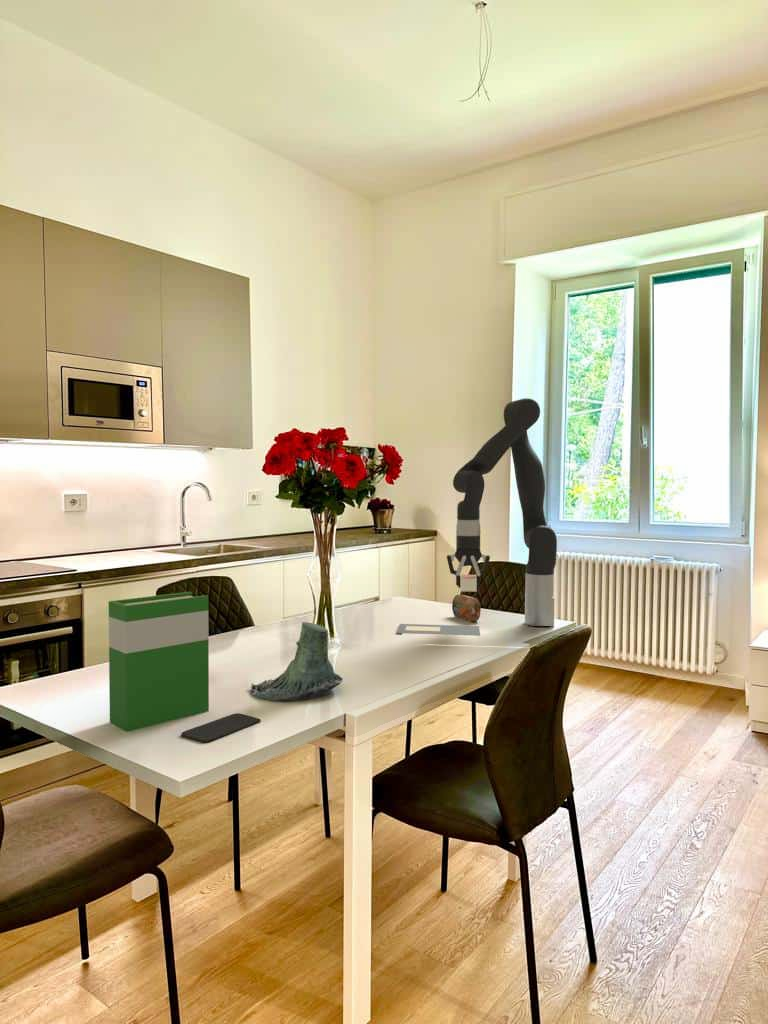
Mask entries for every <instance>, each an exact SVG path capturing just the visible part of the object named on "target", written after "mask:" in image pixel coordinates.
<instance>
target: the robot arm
mask: <svg viewBox="0 0 768 1024" xmlns="http://www.w3.org/2000/svg"><path fill="white" fill-rule="evenodd" d="M540 407H541V406H540V405H539V403H538V402H537V400H535V399H534V398H531V397H525V398H520V399H516V400H513V401H510V402H508V403H507V404H505V406H504V409H503V421H504V426H503V427H502V428H501V429H500V430H499V431H498V432H497V433H496V434H494V435H493V436H492V437H490V438H489V439H488V440H487V441H486V442H485V443H484V444H483V445H482V446H481V448H480V449H479V450H478V451H477V453H475V455H474V456H473V457H472V458H471V459H470V460H469V461H468V462H466V463H465V464H464V465H463V466H462V467H461V468H460V469H458V471H457V472H456V473H455V475H454V477H453V479H452V485H453V488H454V490H455V491H456V492H458V493H462V494H464V497H463V500H460V501H459V502H458V504H457V509H456V510H457V511H456V515H457V516H456V519H457V521H456V529H455V534H456V539H455V541H456V545H455V547H456V549H455V552H454V554H453V553H452V554H447V555H446V561H447V564H448V568H449V572H450V574H451V575H455V585H456V586H457V587H458V589H460V577H461V575H462V574H461V572H462V570H463V567H467V566H469V567H473V569H474V570H475V575H476V578H477V588H478V589H479V587H481V577H482V576H483V575H486V574H487V571H488V567H489V564H490V559H491V557H490V555H489V554H482V552H481V523H480V511H481V510H480V506H481V502H482V500H483V494H484V492H485V479H484V476H483V475H487V474H488V473H490V472H491V471H492V470H493V469H494V468H495V467H496V465H497V464H498V463H499V461H500V460H501V459H502V458H503V456H505V454H506V452H507V451H508V450H509V449H510V450H511V457H512V462H513V466H514V467H513V468H514V476H515V481H516V487H517V492H518V498H519V503H520V508H521V513H522V528H523V531H522V533H523V541H524V542H523V543H524V544H525V546H526V547H527V549H528V561H527V563H526V565H525V584H524V585H525V586H524V587H525V589H524V591H525V592H524V598H525V599H524V624H525V625H526V626H528V625H529V626H528V627H534V626H550V627H555V597H554V589H555V588H554V583H555V567H556V565H557V553H558V552H557V551H558V540H557V539H558V538H557V535H556V533H555V531H554V530H553V529H552V528H551V527H550V526H547V521H546V517H545V511H544V503H545V502H544V501H545V494H546V493H545V492H546V481H545V472H544V468H543V464H542V461H541V459H540V457H539V456H538V454H537V453H536V451H535V450H534V448H533V447H532V445H531V443H530V441H529V435H528V430H529V429H530V428H532V426H534V425H535V424H536V423H537V421H539V418H540V415H541V408H540ZM455 558H456V560H457V561H458V562H459V564H458V565H457V569H454V565H453V562H454V560H455ZM481 558H482V561H483V567H482V570H480V568H479V566H478V562H479V561H480V560H481Z"/></svg>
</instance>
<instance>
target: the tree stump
mask: <svg viewBox="0 0 768 1024" xmlns="http://www.w3.org/2000/svg"><path fill="white" fill-rule="evenodd" d="M300 629H301V630H300V635H299V639H298V641H297V642H296V643H295V644H296V646H297V649H296V652H295V656H294V658H293V659H292V660H291V661H290V662H289V663H288V666H287V667H286V669H285V671H284V672H282V673H281V674H280V675H279V676H278V677H276V678H274V679H268V680H267V679H265V680H264V681H263V682H259V683H258V684H254V683H251V687H250V693H251V695H252V696H253V698H255V699H256V698H257V699H259V700H263V701H268V702H273V703H288V702H290V703H291V702H296V701H298V702H299V701H305V700H306V701H307V700H310V699H315V698H319V697H323V696H326V695H327V694H328V693H329V692H330V691H332V690H333V689H334V688H336V687H338V686H339V685H341V683H342V682H343V677H342V676H341V675H339V674H337V673H336V672H335V670H334V667H333V665H332V663H331V661H330V660H329V630H328V629H327V628H325V627H324V626H321V625H319V624H316V623H313V622H309V621H308V622H307V621H306V622H305V621H302V622H301V628H300Z"/></svg>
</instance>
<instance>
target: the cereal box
mask: <svg viewBox="0 0 768 1024" xmlns="http://www.w3.org/2000/svg"><path fill="white" fill-rule="evenodd" d="M209 637H210V636H209V595H206V594H205V595H198V596H193V592H192V591H185V592H177V593H167V594H158V595H152V596H143V597H142V596H141V597H134V598H125V599H116V600H108V664H109V665H108V667H109V668H108V671H109V672H108V673H109V674H108V675H109V676H108V677H109V680H108V681H109V682H108V683H109V684H108V685H109V723H110V724H113V726H116V727H117V728H119V729H121V730H123V731H125V732H127V733H128V732H133V731H136V730H140V729H143V728H148V727H152V726H155V725H160V724H164V723H167V722H171V721H175V720H179V719H183V718H188V717H191V716H194V715H199V714H202V713H206V712H209V710H210V709H209V706H210V699H209V698H210V697H209V696H210V695H209V694H210V693H209V692H210V690H209V688H210V684H209V683H210V681H209V679H210V678H209V677H210V676H209V675H210V674H209V673H210V671H209V662H210V661H209V659H210V655H209V654H210V653H209V649H210V648H209V646H210V645H209V642H210V641H209V639H210V638H209Z"/></svg>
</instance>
